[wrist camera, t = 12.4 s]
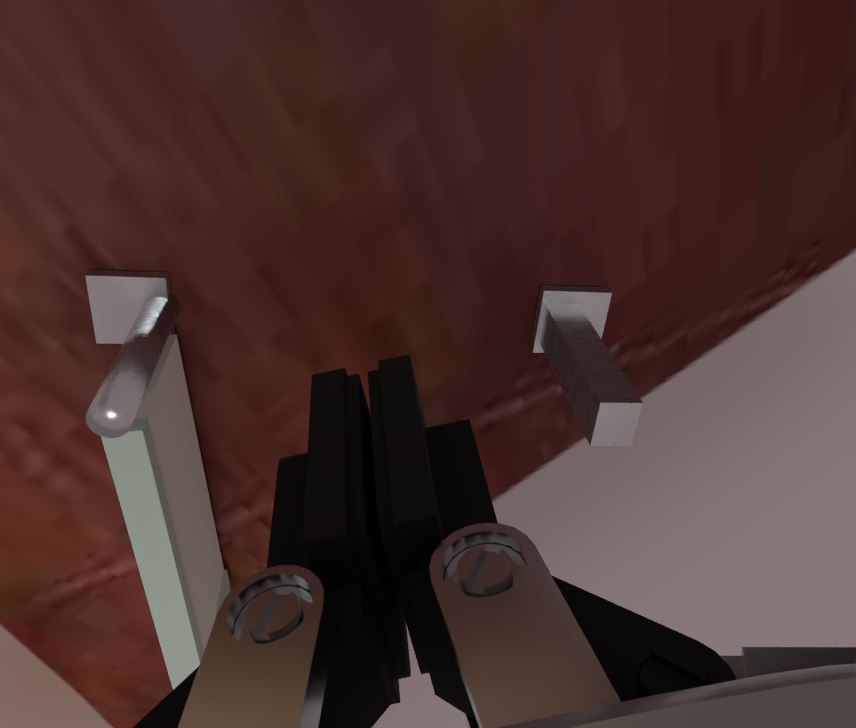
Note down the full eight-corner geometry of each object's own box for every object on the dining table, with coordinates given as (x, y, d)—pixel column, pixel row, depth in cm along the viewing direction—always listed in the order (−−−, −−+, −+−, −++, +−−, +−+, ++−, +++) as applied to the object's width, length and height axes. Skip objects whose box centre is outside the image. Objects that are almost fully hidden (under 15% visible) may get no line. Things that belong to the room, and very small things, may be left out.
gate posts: (100, 336, 40) (28, 458, 31) (90, 269, 38) (9, 378, 29) (594, 347, 44) (663, 459, 35) (607, 287, 42) (685, 388, 33)
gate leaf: (146, 336, 40) (100, 433, 32) (180, 334, 40) (142, 430, 32) (203, 588, 49) (178, 708, 42) (230, 586, 50) (210, 706, 42)
